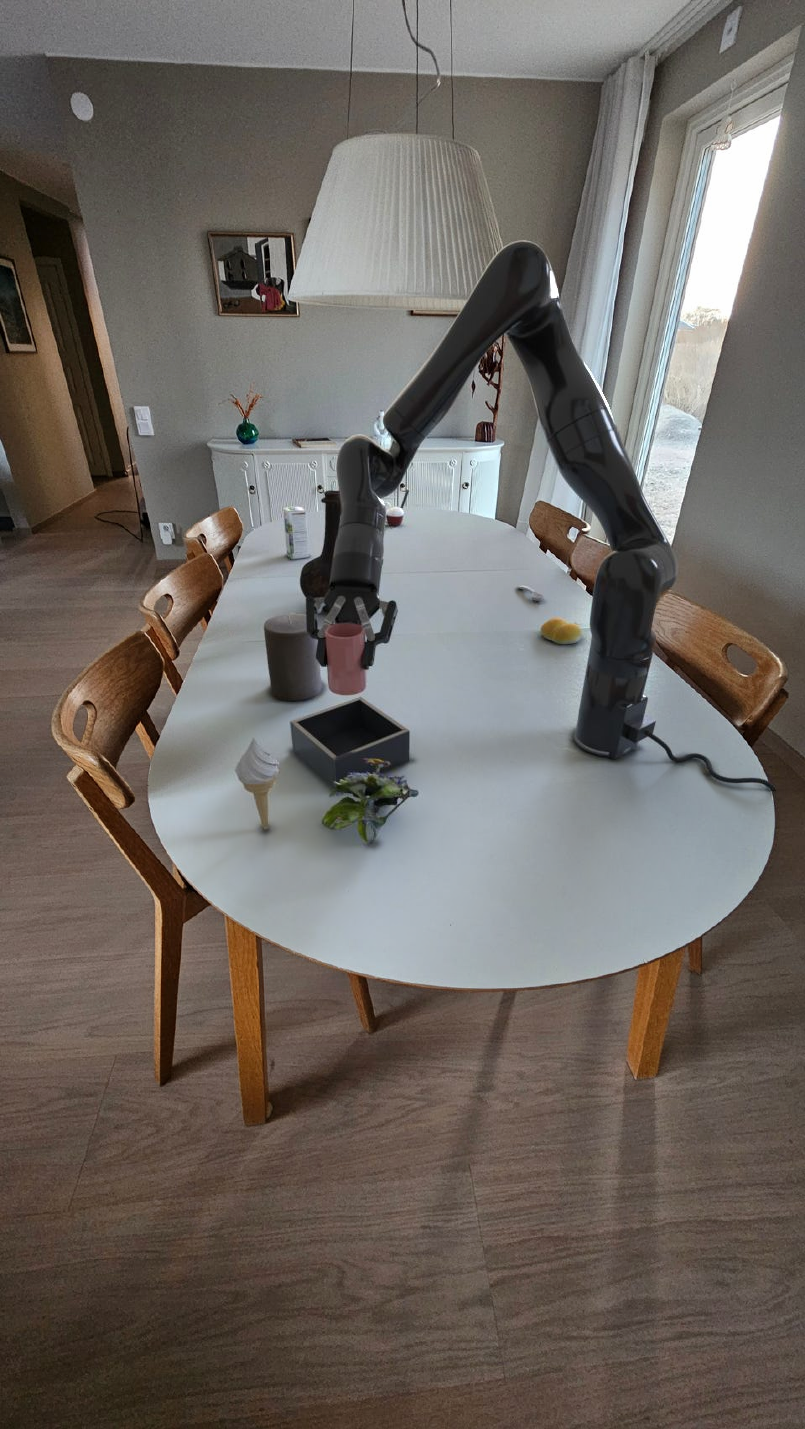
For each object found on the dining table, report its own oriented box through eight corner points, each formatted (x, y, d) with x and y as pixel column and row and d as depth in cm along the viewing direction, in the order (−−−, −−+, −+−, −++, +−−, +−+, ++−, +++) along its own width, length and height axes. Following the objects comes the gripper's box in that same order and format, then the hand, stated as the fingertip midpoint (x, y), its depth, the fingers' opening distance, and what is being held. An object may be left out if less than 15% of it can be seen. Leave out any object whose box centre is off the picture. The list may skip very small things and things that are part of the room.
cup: (373, 688, 94) (372, 631, 89) (341, 699, 91) (338, 641, 86) (353, 674, 98) (350, 619, 93) (321, 684, 95) (317, 628, 90)
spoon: (535, 603, 159) (536, 595, 159) (515, 591, 170) (515, 584, 169) (545, 602, 160) (546, 594, 159) (525, 590, 170) (525, 583, 170)
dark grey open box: (409, 760, 99) (409, 730, 96) (337, 791, 92) (335, 760, 89) (361, 724, 109) (360, 696, 106) (292, 750, 102) (289, 721, 99)
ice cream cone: (268, 810, 88) (256, 720, 81) (295, 827, 85) (285, 735, 78) (236, 831, 85) (220, 738, 77) (263, 849, 82) (249, 755, 74)
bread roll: (566, 648, 136) (569, 631, 134) (534, 636, 142) (536, 619, 140) (589, 638, 141) (591, 622, 139) (556, 627, 146) (559, 610, 144)
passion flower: (378, 835, 92) (424, 774, 89) (381, 879, 82) (433, 810, 79) (312, 799, 89) (358, 734, 86) (307, 839, 79) (358, 767, 76)
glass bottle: (295, 598, 162) (285, 486, 148) (360, 590, 168) (356, 481, 153) (311, 623, 148) (302, 501, 133) (382, 613, 153) (380, 495, 139)
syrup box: (286, 554, 196) (281, 507, 188) (304, 552, 198) (300, 505, 190) (291, 559, 191) (287, 511, 184) (309, 557, 193) (306, 509, 186)
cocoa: (382, 527, 226) (382, 492, 220) (383, 523, 231) (382, 489, 225) (409, 527, 226) (409, 492, 220) (408, 523, 231) (408, 489, 225)
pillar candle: (273, 704, 114) (264, 629, 107) (268, 681, 122) (260, 609, 115) (326, 698, 117) (320, 623, 109) (318, 675, 125) (312, 604, 117)
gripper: (305, 547, 92) (289, 655, 88) (402, 551, 90) (389, 661, 86) (317, 571, 99) (302, 671, 95) (406, 575, 97) (395, 678, 93)
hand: (344, 666), depth 91 cm, fingers closed on cup, 5 cm apart
